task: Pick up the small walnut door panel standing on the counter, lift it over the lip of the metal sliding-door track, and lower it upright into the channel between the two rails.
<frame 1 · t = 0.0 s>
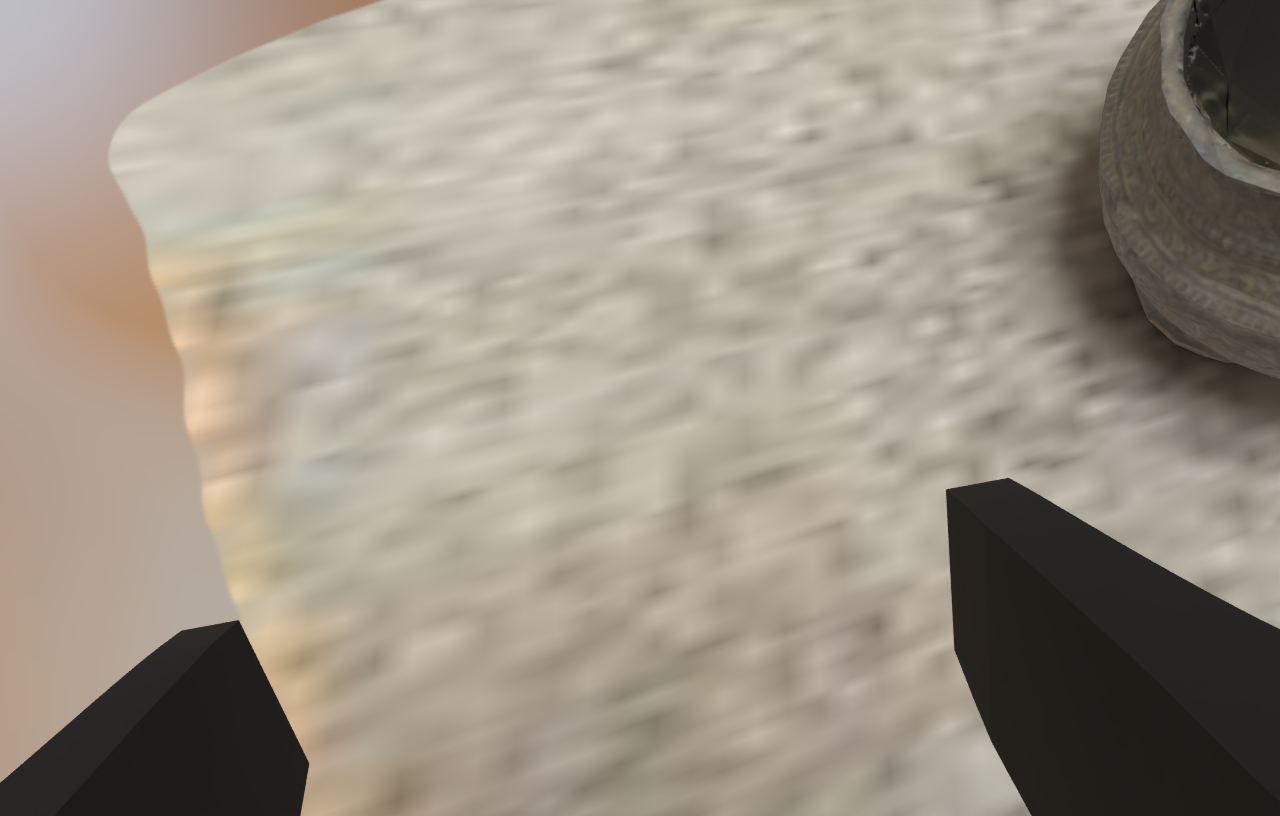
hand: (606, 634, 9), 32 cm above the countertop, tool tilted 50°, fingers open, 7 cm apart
pot: (1267, 263, 45), on the countertop
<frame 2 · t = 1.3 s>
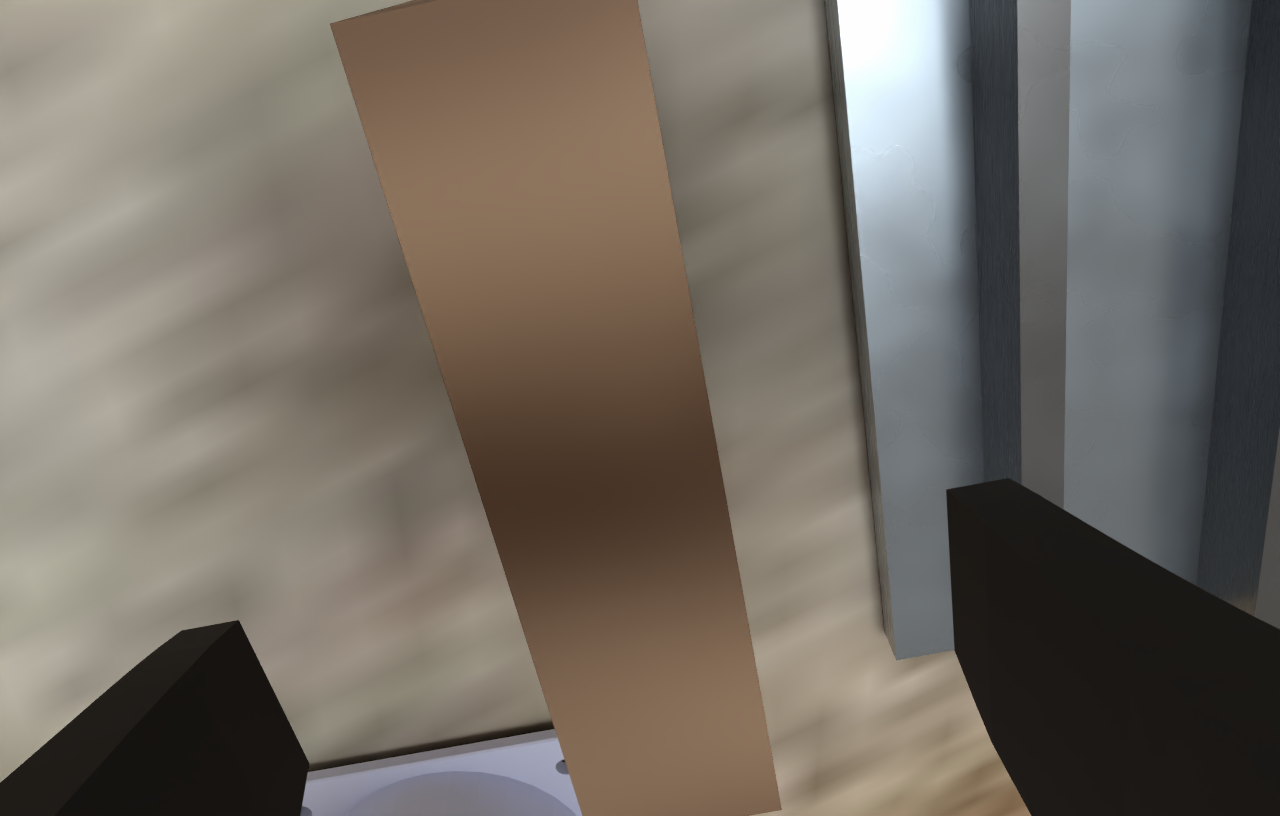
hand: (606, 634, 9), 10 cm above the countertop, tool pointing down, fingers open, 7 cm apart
track: (1100, 196, 18), on the countertop
door panel: (602, 292, 19), on the countertop
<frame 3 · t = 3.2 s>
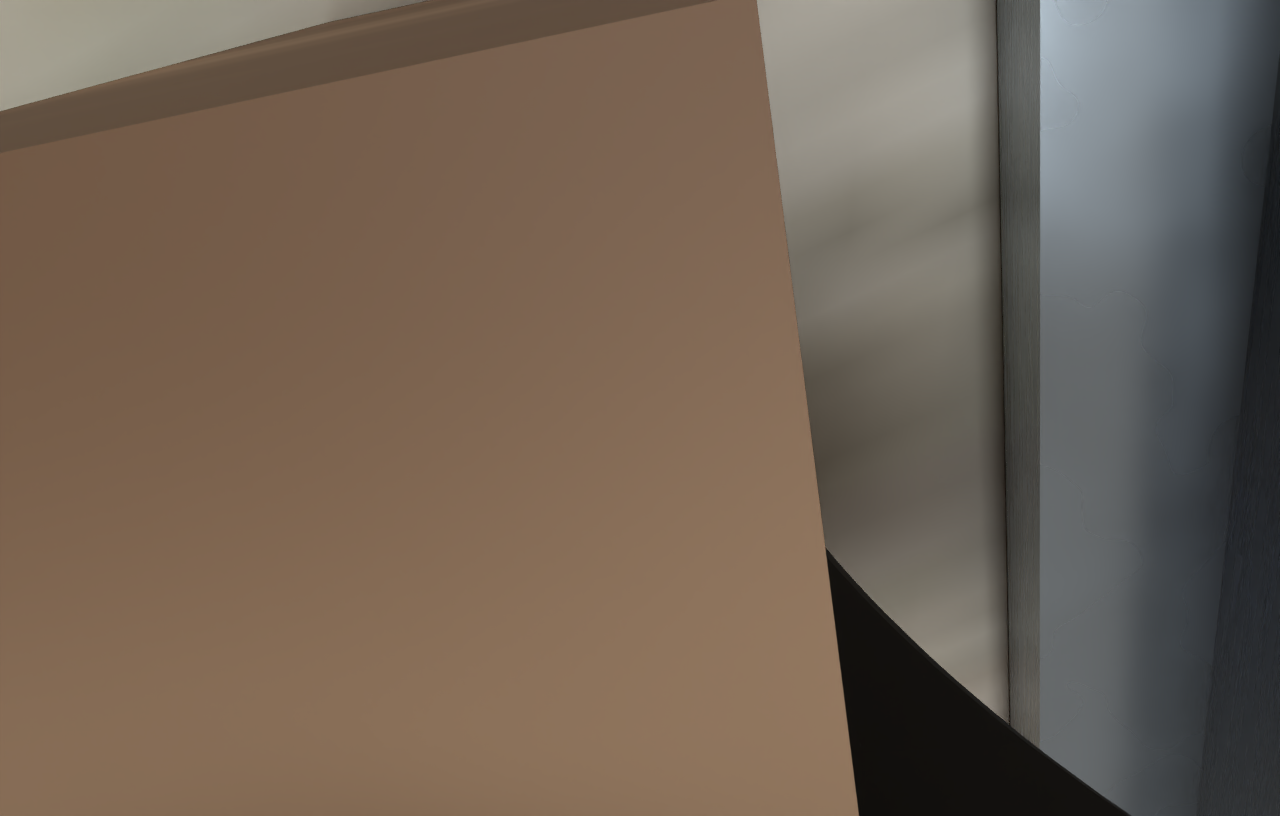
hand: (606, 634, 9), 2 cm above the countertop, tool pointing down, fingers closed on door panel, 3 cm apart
door panel: (604, 505, 12), on the countertop, touching gripper
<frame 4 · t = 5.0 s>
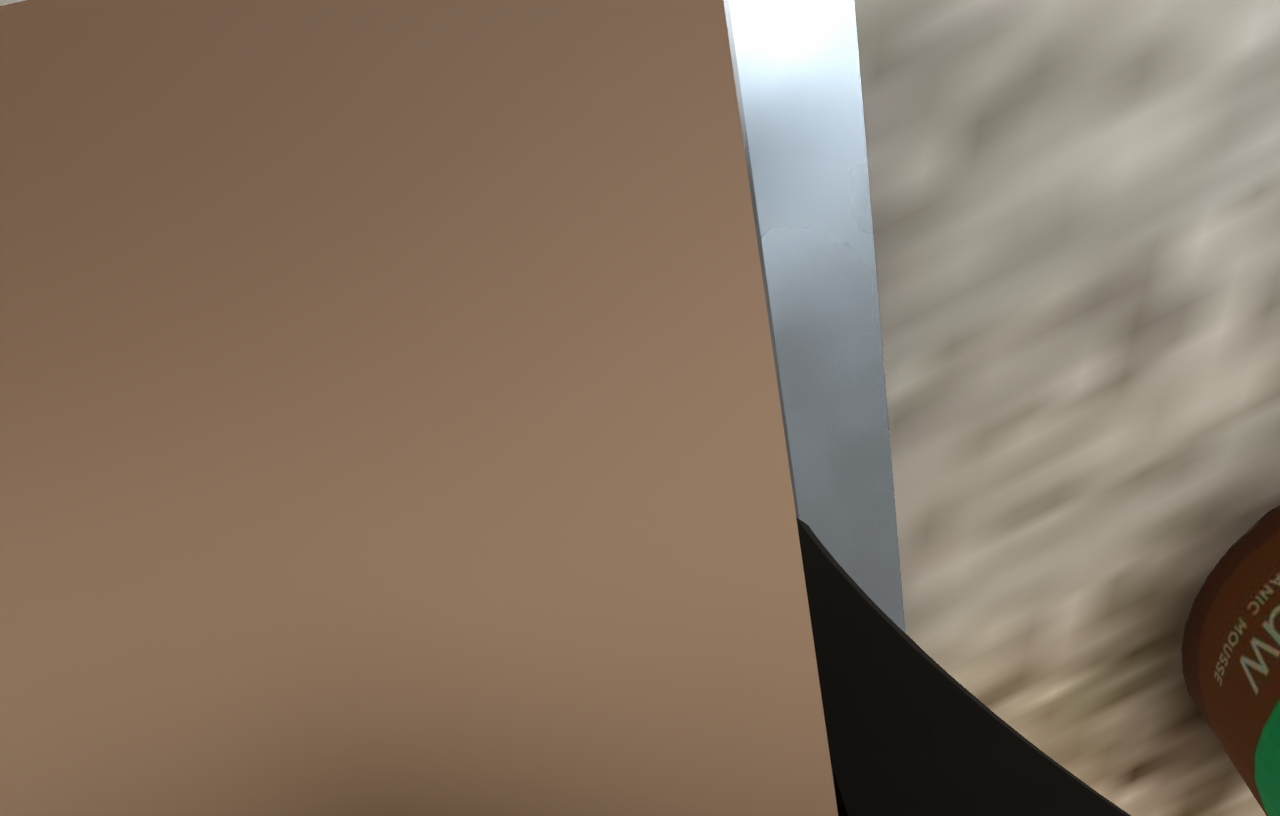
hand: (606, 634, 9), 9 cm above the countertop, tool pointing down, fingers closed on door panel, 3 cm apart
track: (605, 311, 18), on the countertop
door panel: (599, 468, 12), point 7 cm above the countertop, touching gripper
food container: (1273, 585, 22), on the countertop
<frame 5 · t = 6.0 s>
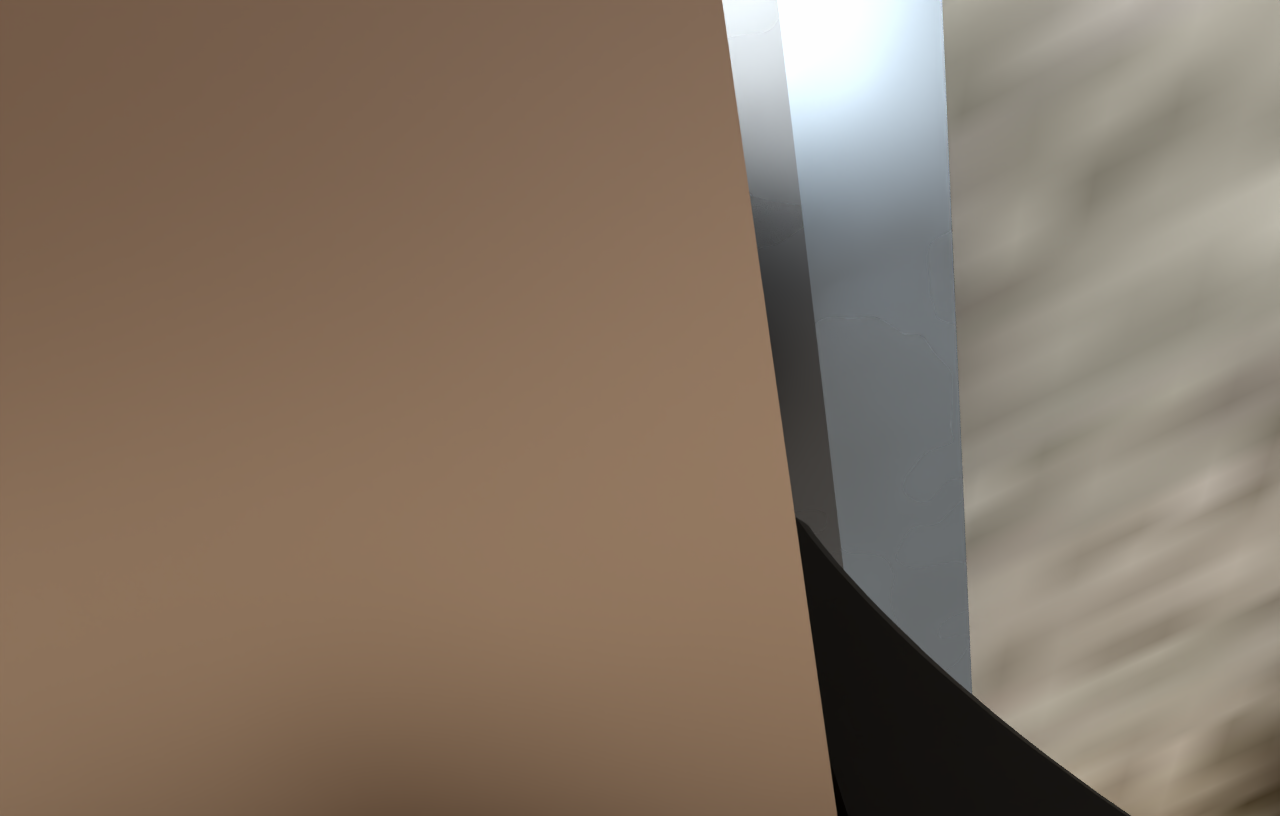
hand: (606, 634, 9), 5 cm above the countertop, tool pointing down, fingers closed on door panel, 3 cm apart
track: (603, 414, 14), on the countertop
door panel: (599, 463, 12), point 2 cm above the countertop, touching gripper
when the fingers open (5 cm above the countertop, at t = 6.8 s): door panel stays where it is, resting on track.
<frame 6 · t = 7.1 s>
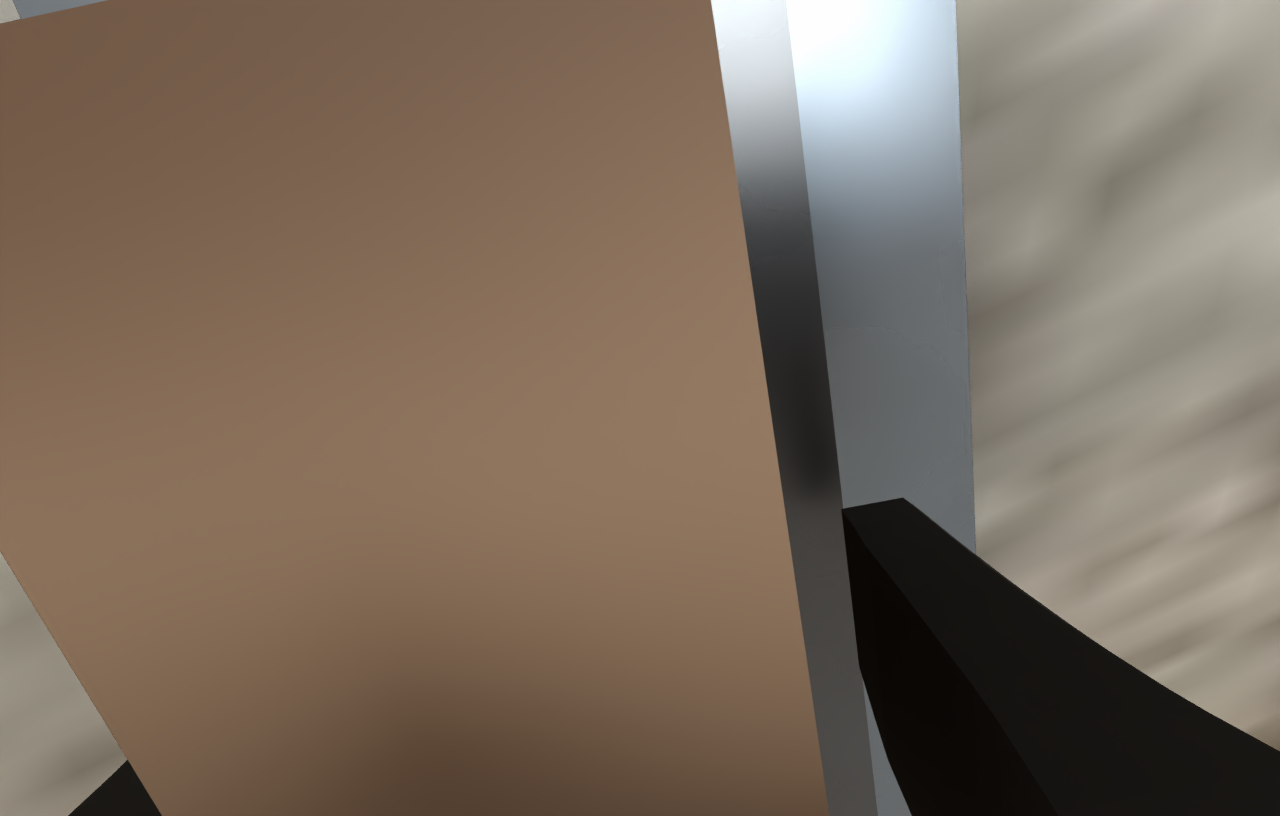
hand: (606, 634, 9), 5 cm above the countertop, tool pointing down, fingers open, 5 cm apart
track: (604, 425, 14), on the countertop
door panel: (602, 442, 13), point 1 cm above the countertop, touching track
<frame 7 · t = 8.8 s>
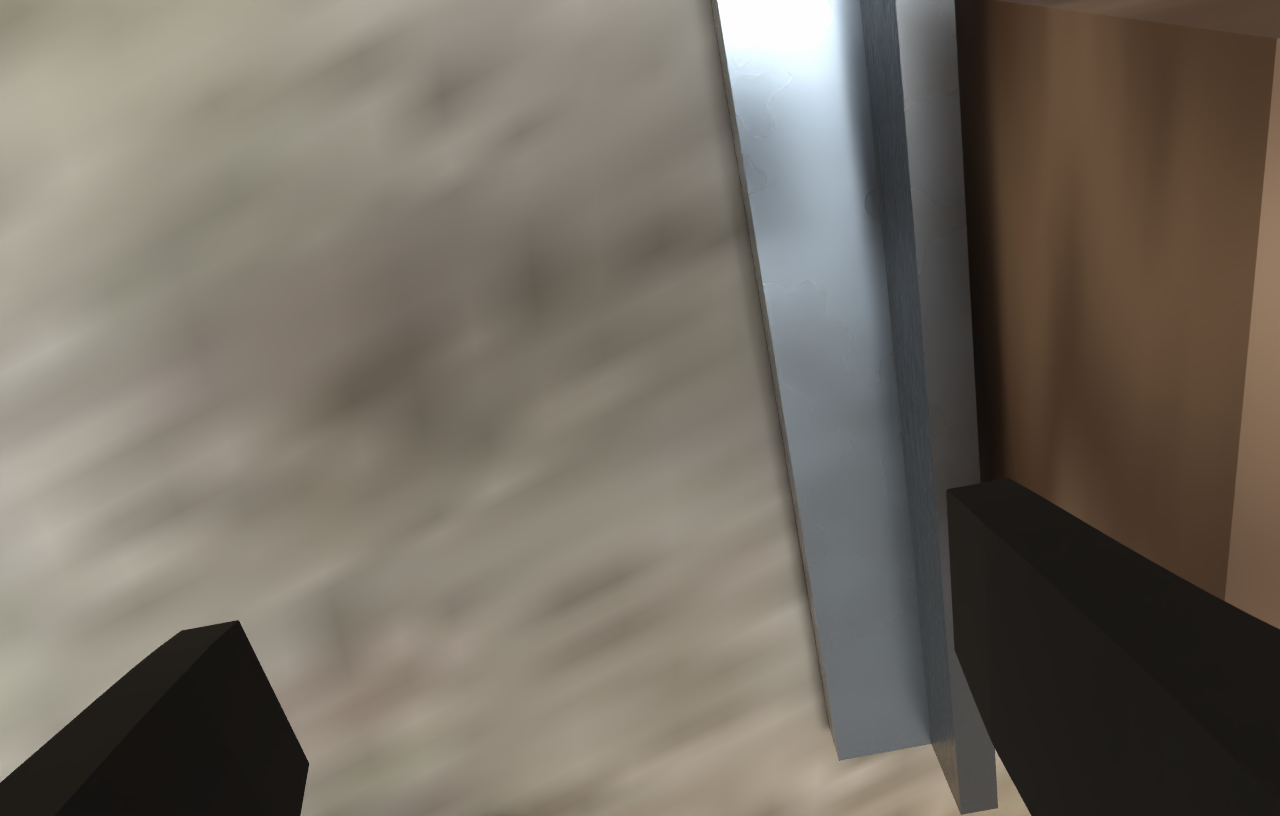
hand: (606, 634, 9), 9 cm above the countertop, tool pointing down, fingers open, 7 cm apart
track: (1022, 315, 18), on the countertop
door panel: (1045, 321, 17), point 1 cm above the countertop, touching track
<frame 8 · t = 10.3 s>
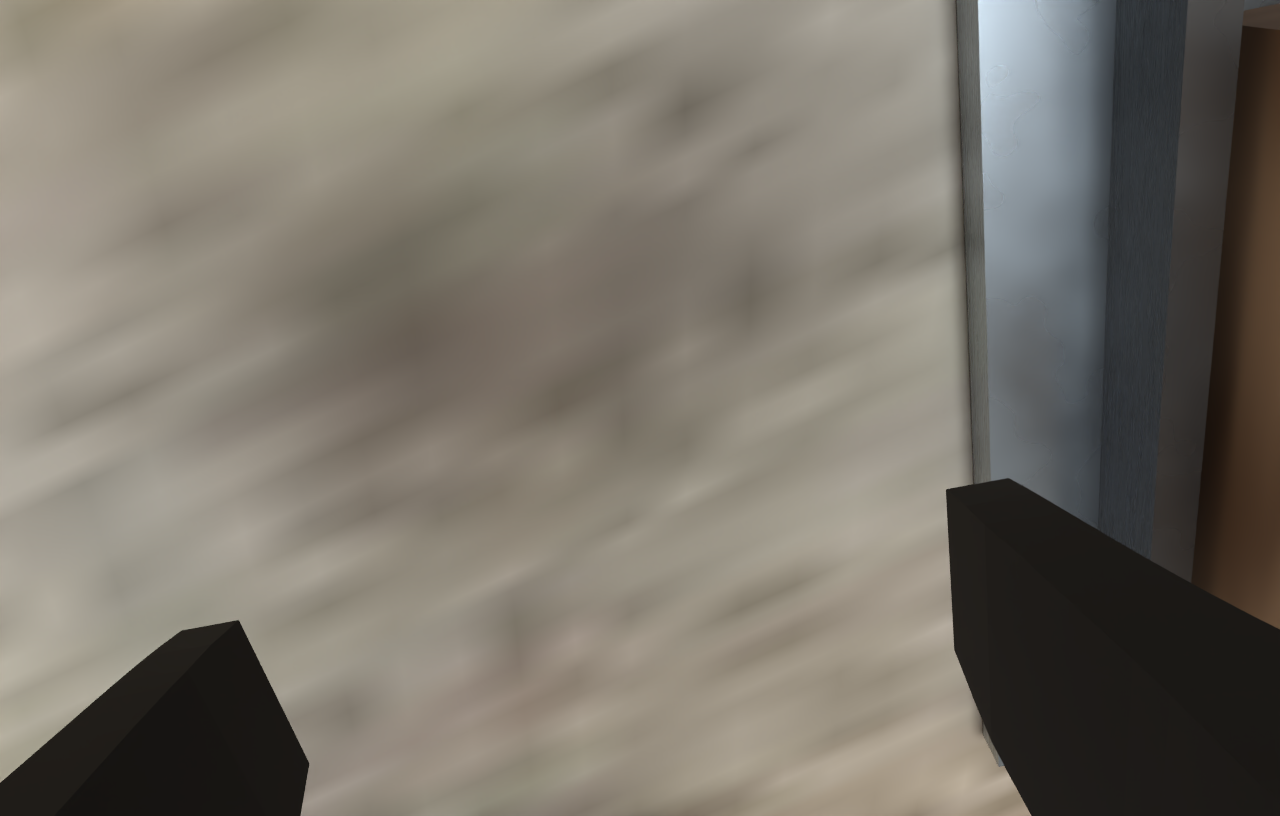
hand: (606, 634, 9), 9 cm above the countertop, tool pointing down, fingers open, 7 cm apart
track: (1219, 333, 19), on the countertop
door panel: (1253, 339, 18), point 1 cm above the countertop, touching track
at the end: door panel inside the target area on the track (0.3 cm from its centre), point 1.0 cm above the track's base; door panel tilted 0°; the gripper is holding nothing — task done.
